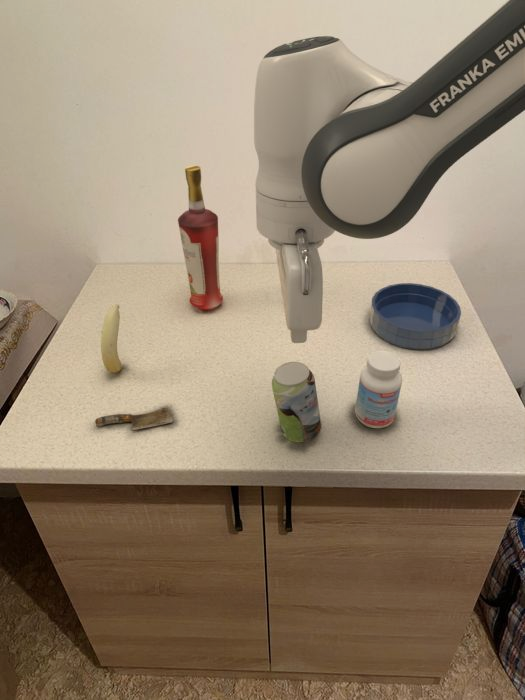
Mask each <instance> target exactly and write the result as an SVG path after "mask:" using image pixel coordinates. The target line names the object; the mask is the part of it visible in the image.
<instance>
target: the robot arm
mask: <svg viewBox="0 0 525 700" xmlns="http://www.w3.org/2000/svg"><path fill="white" fill-rule="evenodd" d="M257 67H258V68H257V72H256V78H255V87H254V102H253V145H254V149H255V152H256V155H257V161H258V167H257V168H258V170H257V174H256V178H255V184H254V185H255V210H256V211H255V214H256V217H255V218H256V229H257V231H258V232H259V234H260V235H261V236H262V237H264V238H266V239H267V242H268V244H269V245H270V246H271V247H272V248H273V249H274V250H275V256H276V262H277V268H278V276H279V282H280V289H281V296H282V303H283V308H284V309H283V310H284V316H285V323H286V328H287V330H288V331H290V334H289V335H290V340H291V343H293V344H303V343H306V342H307V341H308V331H317V330H319V328H320V327H321V325H322V321H323V301H324V300H323V296H324V295H323V294H324V293H323V291H324V278H323V277H324V275H323V265H322V259H321V256H320V252H319V248H320V247H322V246H323V245H324V243H325V240H327V238H329V237H331V236H332V235H334V233H335V232H337V233H339V234H341V235H344V236H346V237H349V238H353V239H359V240H375V239H380V238H384V237H387V236H390V235H393V234H394V233H397V232H398V231H399V230H401V229H403V228H404V227H405V226H406V225H408V224H409V223H410V222H411V221H412V220H413V218H414V217H415V216H416V215H417V213H418V212H419V211H420V209H421V208H422V207H423V205H424V203H425V202H426V200H427V199H428V197H429V196H430V194H431V192H432V190H433V189H434V187H435V186H436V184H437V183H438V182H439V180H440V179H441V178H442V177H443V175H444V174H445V173H446V172H448V170H449V169H450V168H451V167H452V166H453V165H455V163H457V162H458V161H459V160H460V159H461V158H462V157H464V156H465V155H466V154H468V153H469V152H471V151H472V150H474V149H475V148H476V147H477V146H479V145H480V144H481V143H482V142H484V141H486V140H487V139H488V138H490V137H491V136H492V135H493V134H495V133H496V132H498V131H499V130H500V129H502V128H503V127H505V126H506V125H507V124H509V123H510V122H511V121H512V120H514V119H515V118H516V117H518V116H519V115H520V114H522V113H524V111H525V0H506V1H504V2H503V4H502V5H500V7H498V8H497V9H496V10H495V11H493V13H492V14H491V15H489V16H488V17H487V18H486V19H484V21H482V22H481V23H480V24H479V25H478V26H477V27H476V28H474V30H472V31H471V32H469V34H467V35H466V36H465V37H464V38H463V39H462V40H460V41H459V42H458V43H457V44H456V45H455V46H454V47H453V48H451V49H450V50H449V51H448V52H447V53H446V54H445V55H443V56H442V57H441V58H440V59H438V61H436V62H435V63H434V64H433V65H432V66H431V67H429V68H428V69H427V70H426V71H425V72H423V73H422V74H421V75H420V76H419V77H417V78H416V80H414V81H413V82H410V81H407V80H404V79H401V78H399V77H396V76H394V75H391V74H388V73H386V72H384V71H382V70H380V69H378V68H376V67H375V66H373V65H371V64H369V63H367V62H366V61H364V60H363V59H361V58H360V57H359V56H357V55H356V54H354V53H353V52H352V51H351V50H350V49H349V48H348V47H347V45H346V44H345V42H344V41H343V40H342V39H340V38H338V37H334V36H331V35H330V36H329V35H323V36H313V37H308V38H303V39H297V40H294V41H292V42H289V43H283V44H281V45H279V46H276V47H275V48H273V49H271V50H270V51H268V52H267V53H266V54H265V55H264V56H263V58H262V59H261V60H260V62H259V64H258V66H257Z"/></svg>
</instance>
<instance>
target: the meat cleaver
mask: <svg viewBox="0 0 525 700" xmlns="http://www.w3.org/2000/svg"><path fill="white" fill-rule="evenodd" d="M94 422H95V426H97V427H101V426H105V425H108V424H116V423H117V424H119V423H131V427H132V431H136V430H142V429H147V428H151V427H157V426H162V425H167V424H171V423H173V422H174V419H173V417H172V415H171V412H170V411H169V408H168V407H167V406H164V407H162V408H159V409H157V410H154V411H151V412H147V413H142V414H131V413H129V414H128V413H117V414H110V415H105V416H100V417H97V418H95V421H94Z"/></svg>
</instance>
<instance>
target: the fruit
mask: <svg viewBox="0 0 525 700" xmlns="http://www.w3.org/2000/svg"><path fill="white" fill-rule="evenodd" d="M120 317H121V315H120V305H119V304H118V303H115V304H114V305H111V306H110V307H109V308H108V310H107V311H106V314H105V317H104V319H103V324H102V329H101V335H100V353H101V354H100V355H101V360H102V363H103V366H104V369H106V371H108V372H109V373H114V374H115V373H118V372H120V371H121V370H122V361H121V359H120V357H119V353H118V338H119V329H120V321H121V320H120V319H121V318H120Z"/></svg>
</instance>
